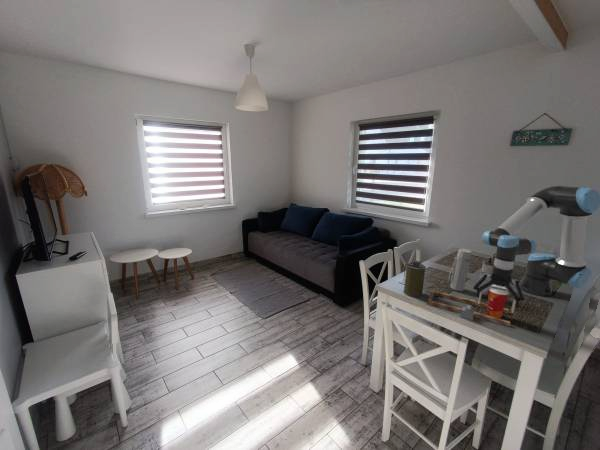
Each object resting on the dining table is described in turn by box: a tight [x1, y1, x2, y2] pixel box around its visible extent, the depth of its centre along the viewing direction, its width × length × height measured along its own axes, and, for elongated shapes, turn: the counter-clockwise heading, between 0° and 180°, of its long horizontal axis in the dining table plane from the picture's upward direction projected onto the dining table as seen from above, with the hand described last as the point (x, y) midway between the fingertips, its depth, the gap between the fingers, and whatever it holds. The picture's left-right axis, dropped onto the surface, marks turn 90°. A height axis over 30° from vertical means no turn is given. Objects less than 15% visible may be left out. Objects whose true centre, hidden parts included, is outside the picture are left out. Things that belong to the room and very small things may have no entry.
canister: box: [403, 259, 427, 298], centre depth 154 cm, size 11×10×20 cm
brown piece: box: [426, 289, 511, 328], centre depth 140 cm, size 36×15×2 cm, turn 55°
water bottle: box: [448, 248, 473, 292], centre depth 158 cm, size 9×8×25 cm
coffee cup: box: [486, 284, 510, 319], centre depth 132 cm, size 8×8×15 cm
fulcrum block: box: [460, 304, 475, 321], centre depth 131 cm, size 5×4×6 cm
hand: (494, 307), depth 132 cm, fingers open, 13 cm apart
